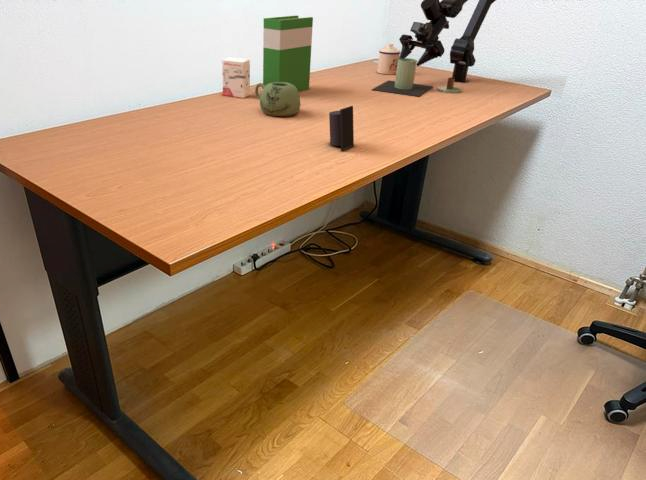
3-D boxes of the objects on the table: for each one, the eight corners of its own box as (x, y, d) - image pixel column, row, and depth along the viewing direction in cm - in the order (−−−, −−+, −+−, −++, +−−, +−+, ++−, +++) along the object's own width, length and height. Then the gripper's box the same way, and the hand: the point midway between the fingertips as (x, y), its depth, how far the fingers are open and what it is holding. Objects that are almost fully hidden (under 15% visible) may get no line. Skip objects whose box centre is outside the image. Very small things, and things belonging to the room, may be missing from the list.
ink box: (221, 95, 175) (220, 59, 169) (228, 92, 179) (227, 56, 173) (244, 98, 172) (243, 61, 166) (250, 95, 176) (250, 59, 170)
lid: (440, 86, 198) (442, 75, 196) (462, 89, 195) (465, 77, 192) (435, 90, 191) (437, 78, 189) (458, 94, 188) (460, 81, 186)
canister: (408, 85, 197) (413, 58, 191) (415, 89, 191) (419, 61, 186) (391, 85, 196) (395, 58, 190) (397, 89, 190) (402, 61, 185)
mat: (388, 81, 204) (388, 80, 204) (432, 87, 197) (432, 86, 197) (371, 90, 189) (372, 89, 189) (418, 96, 182) (419, 96, 182)
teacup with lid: (392, 75, 214) (396, 46, 207) (372, 72, 218) (376, 43, 212) (403, 71, 222) (407, 43, 216) (384, 69, 226) (388, 41, 220)
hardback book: (293, 85, 192) (296, 15, 179) (309, 88, 188) (312, 17, 175) (263, 92, 180) (263, 18, 167) (278, 96, 176) (280, 20, 164)
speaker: (360, 147, 130) (360, 106, 125) (342, 151, 128) (341, 109, 123) (342, 141, 136) (342, 102, 131) (325, 145, 134) (324, 105, 129)
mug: (307, 111, 160) (309, 83, 155) (285, 120, 151) (286, 90, 146) (266, 103, 167) (267, 76, 162) (243, 111, 158) (243, 82, 153)
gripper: (406, 10, 189) (381, 44, 190) (445, 15, 176) (418, 51, 177) (417, 32, 197) (393, 64, 198) (455, 39, 184) (429, 73, 185)
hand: (407, 63), depth 189 cm, fingers open, 9 cm apart
